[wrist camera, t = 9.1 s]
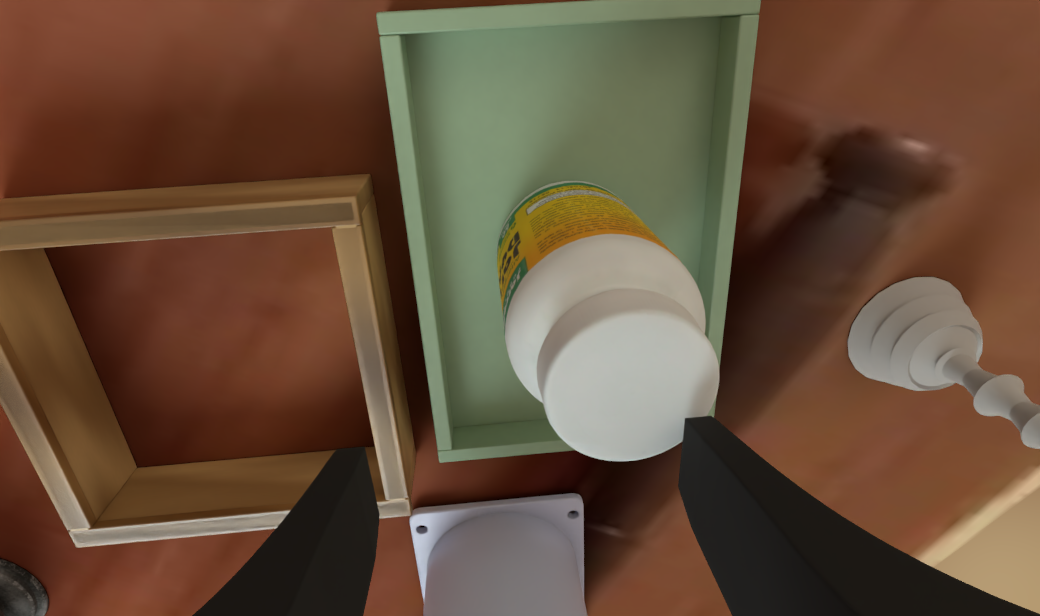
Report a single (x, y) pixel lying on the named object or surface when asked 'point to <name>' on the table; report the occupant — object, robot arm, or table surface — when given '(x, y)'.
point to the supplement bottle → (603, 323)
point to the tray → (555, 166)
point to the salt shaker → (20, 592)
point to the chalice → (935, 350)
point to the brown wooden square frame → (84, 404)
